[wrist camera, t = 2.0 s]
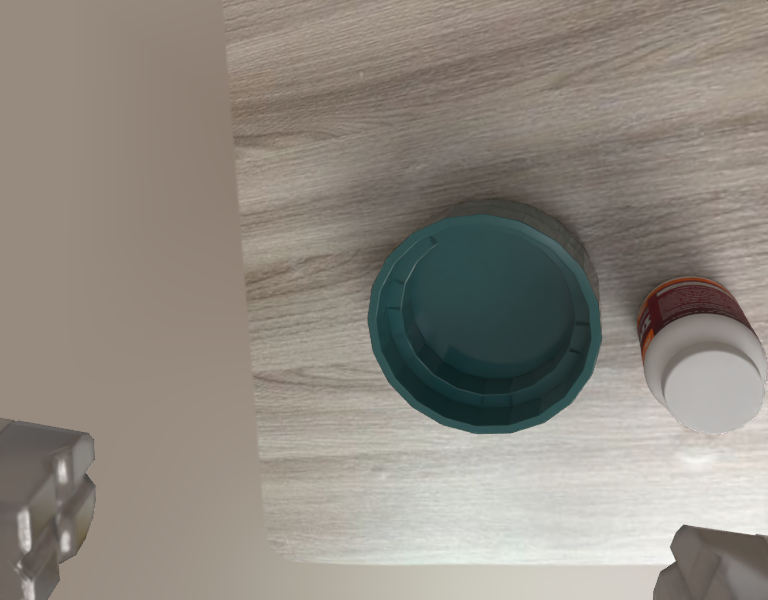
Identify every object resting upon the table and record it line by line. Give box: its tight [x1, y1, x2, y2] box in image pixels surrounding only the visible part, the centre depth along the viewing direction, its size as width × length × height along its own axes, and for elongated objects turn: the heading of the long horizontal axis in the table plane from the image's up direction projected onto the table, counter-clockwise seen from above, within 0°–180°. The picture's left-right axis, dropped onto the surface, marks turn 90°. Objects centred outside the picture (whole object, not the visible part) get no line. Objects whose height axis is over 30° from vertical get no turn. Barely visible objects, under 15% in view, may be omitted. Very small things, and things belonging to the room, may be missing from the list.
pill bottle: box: [637, 276, 768, 434], centre depth 40 cm, size 6×6×11 cm
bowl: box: [367, 198, 602, 434], centre depth 46 cm, size 14×14×6 cm
